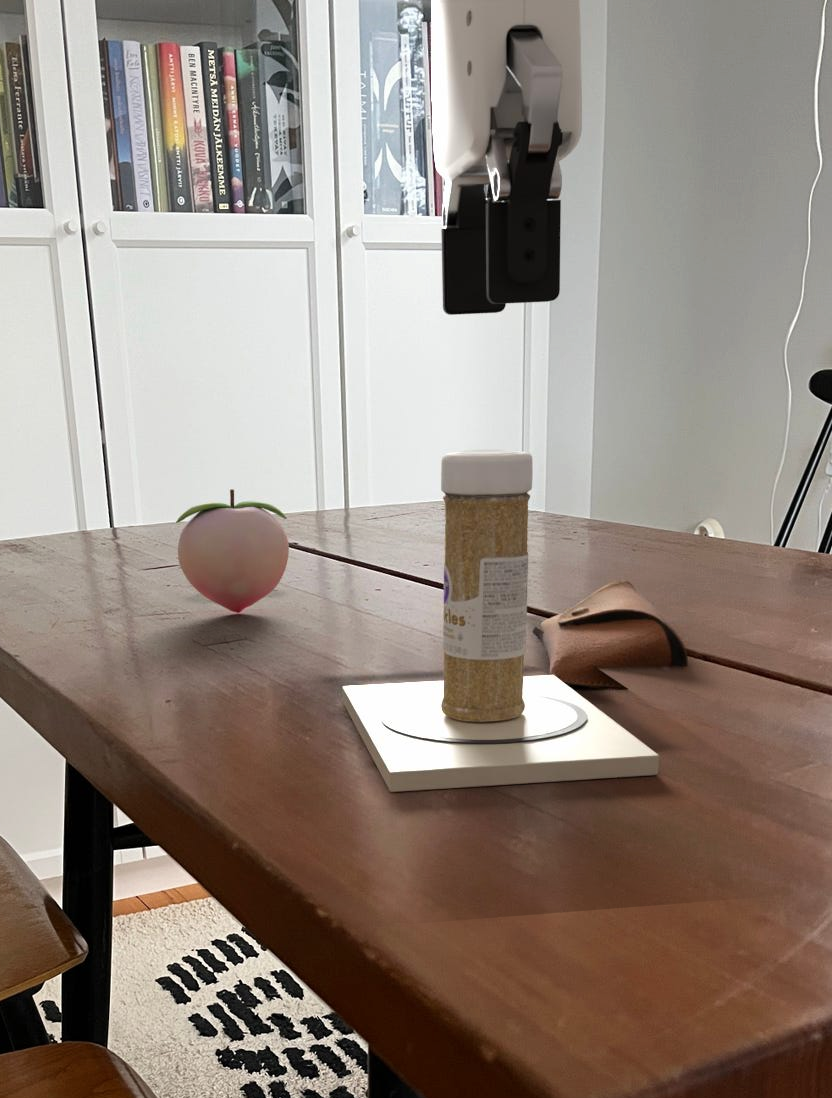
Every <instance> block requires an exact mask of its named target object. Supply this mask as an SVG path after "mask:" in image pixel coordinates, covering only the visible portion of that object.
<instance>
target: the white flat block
mask: <svg viewBox="0 0 832 1098" xmlns="http://www.w3.org/2000/svg"><path fill="white" fill-rule="evenodd" d="M523 677H524V678H523V700H524V703H525V710H524V712H523V713H522V714H521V715H519V716H518V717H515V718H512V719H508V720H500V721H489V722H467V721H461V720H457V719H453V718H451V717H448V716H447V715H445V714H444V713H443V712H442V709H441V702H442V699H443V696H444V693H443V688H444V680H433V681H432V680H431V681H414V682H397V683H396V682H395V683H378V684H376V683H375V684H360V685H359V684H358V685H357V684H356V685H343V686H342V687H341V688H342V689H341V693H342V695H341V697H342V703H343V706H344V708H345V709H346V711H347V713H348V715H349V716H350V718H351V720H352V723H353V724H354V726H355V728H356V730H357V732H358V733H359V736H360V737H361V739H362V741H363V743H364V745H365V747H366V749H367V750H368V753H369V754H370V756H371V758H372V760H373V762H374V765H376V767H377V770H378V772H379V773H380V776H381V777H382V779H383V781H384V783H385V784H386V786H387V789H388V790H389V792H390V793H400V792H416V791H429V790H445V789H447V790H448V789H461V788H462V789H463V788H479V787H493V786H494V787H495V786H509V785H523V784H524V785H525V784H538V783H540V784H541V783H554V782H570V781H584V780H585V781H586V780H601V779H618V777H619V778H633V777H649V776H658V775H659V765H660V755H659V754H658V753H656V752H655V751H654V750H653V749H651V748H650V747H649V746H648V745H647V744H645V743H644V742H643V741H641V740H640V739H638V738H637V737H636V736H635V735H633V734H632V733H631V732H629V731H628V730H626V729H625V728H624V727H623V726H621V725H620V724H619V723H618V722H616V721H615V720H613V719H612V718H611V717H610V716H608V715H607V714H606V713H605V712H603V711H602V710H600V709H599V708H597V706H595V705H594V704H592V702H590V701H589V700H587V698H585V697H584V696H582V695H581V694H579V693H578V692H577V691H576V690H575V689H573V688H572V687H570V685H569V684H565V683H564V682H562V681H561V680H560V679H558V678H557V677H556V676H555V675H550V674H545V675H544V674H541V675H525V676H524V675H523Z"/></svg>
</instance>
